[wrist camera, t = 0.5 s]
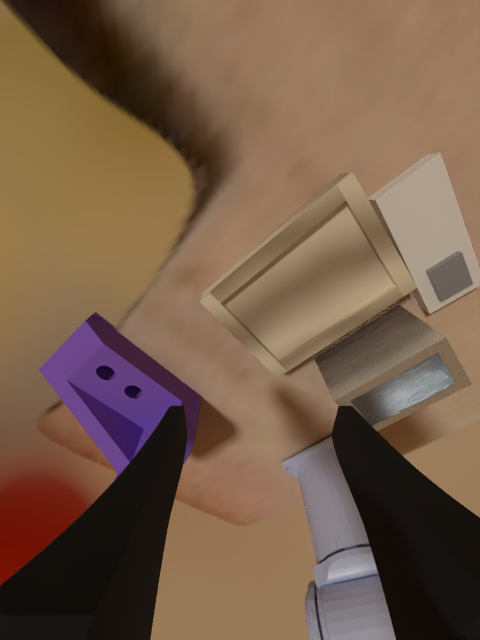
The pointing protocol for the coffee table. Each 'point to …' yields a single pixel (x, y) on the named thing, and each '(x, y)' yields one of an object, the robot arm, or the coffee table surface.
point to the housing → (392, 368)
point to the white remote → (428, 232)
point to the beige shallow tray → (311, 279)
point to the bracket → (117, 390)
